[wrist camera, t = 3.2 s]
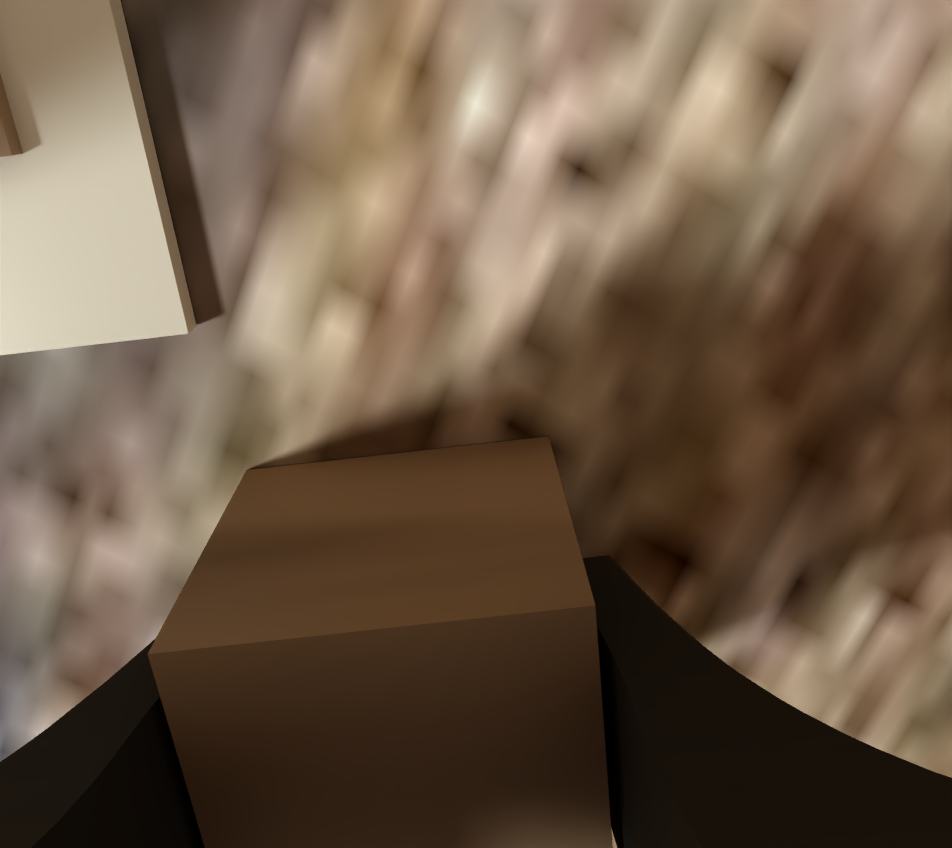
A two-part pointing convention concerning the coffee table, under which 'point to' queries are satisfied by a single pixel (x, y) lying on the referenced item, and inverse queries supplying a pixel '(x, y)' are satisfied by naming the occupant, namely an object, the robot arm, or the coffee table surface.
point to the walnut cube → (391, 659)
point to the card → (80, 186)
